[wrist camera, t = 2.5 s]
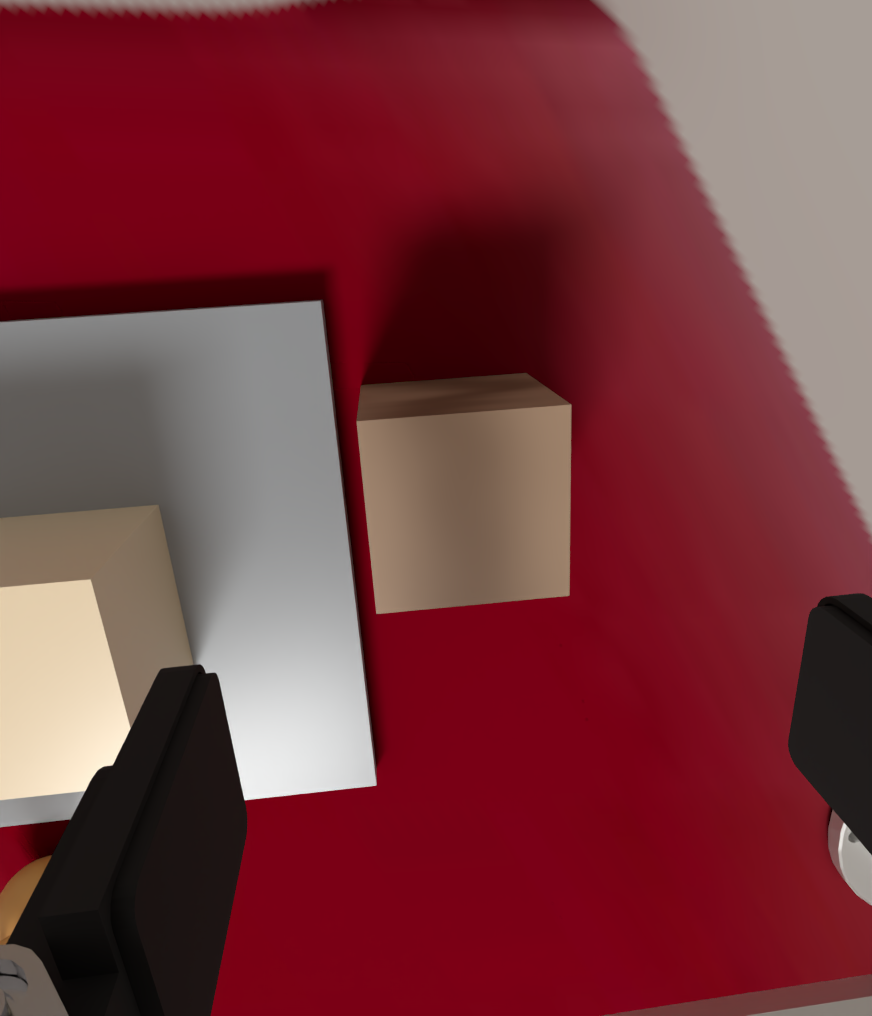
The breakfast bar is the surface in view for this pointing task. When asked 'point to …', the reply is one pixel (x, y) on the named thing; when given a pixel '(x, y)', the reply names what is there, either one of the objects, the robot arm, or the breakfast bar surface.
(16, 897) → the figurine
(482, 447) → the walnut cube
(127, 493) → the base plate
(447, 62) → the breakfast bar surface
